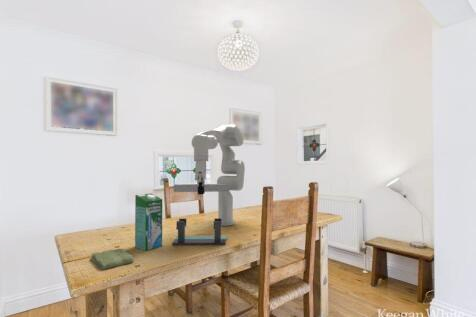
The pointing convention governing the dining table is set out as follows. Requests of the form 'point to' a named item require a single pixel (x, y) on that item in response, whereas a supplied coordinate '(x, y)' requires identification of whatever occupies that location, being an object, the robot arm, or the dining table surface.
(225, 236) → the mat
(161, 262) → the dining table surface
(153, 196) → the milk carton
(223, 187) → the rail
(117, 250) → the washcloth
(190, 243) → the rack
